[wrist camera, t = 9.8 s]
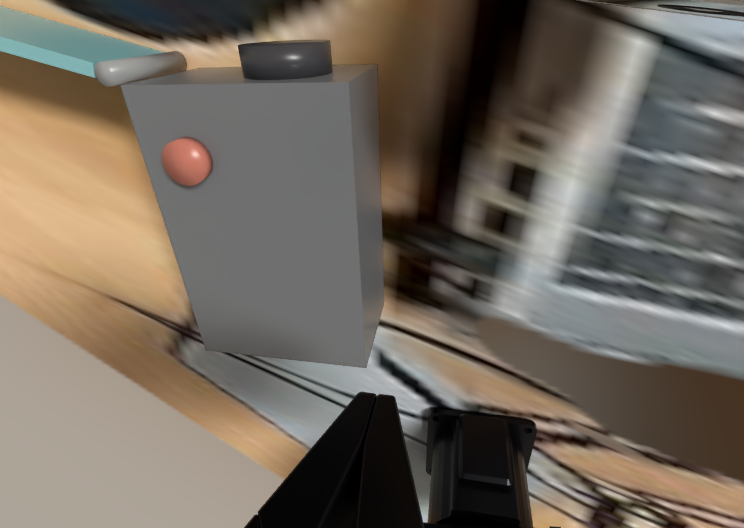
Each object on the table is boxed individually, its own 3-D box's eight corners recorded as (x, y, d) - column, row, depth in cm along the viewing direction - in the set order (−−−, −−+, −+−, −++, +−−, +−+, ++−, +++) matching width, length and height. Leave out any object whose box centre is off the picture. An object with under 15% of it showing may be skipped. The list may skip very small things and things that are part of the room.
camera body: (384, 303, 23) (363, 377, 18) (247, 291, 25) (196, 358, 20) (376, 36, 16) (341, 46, 12) (189, 42, 18) (91, 54, 13)
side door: (186, 41, 18) (112, 49, 14) (186, 73, 18) (116, 89, 15) (-62, -28, 18) (-197, -38, 14) (-53, 6, 19) (-178, 5, 15)
